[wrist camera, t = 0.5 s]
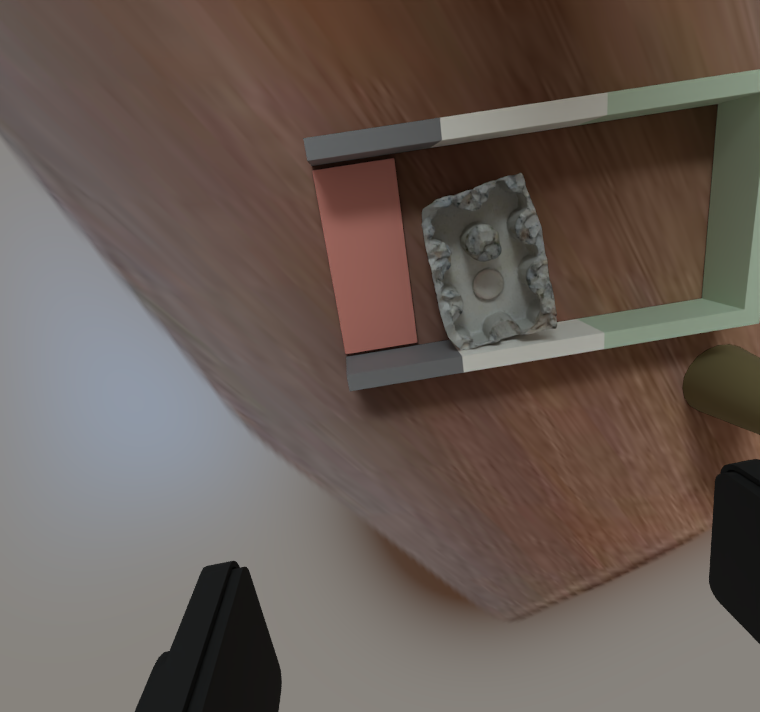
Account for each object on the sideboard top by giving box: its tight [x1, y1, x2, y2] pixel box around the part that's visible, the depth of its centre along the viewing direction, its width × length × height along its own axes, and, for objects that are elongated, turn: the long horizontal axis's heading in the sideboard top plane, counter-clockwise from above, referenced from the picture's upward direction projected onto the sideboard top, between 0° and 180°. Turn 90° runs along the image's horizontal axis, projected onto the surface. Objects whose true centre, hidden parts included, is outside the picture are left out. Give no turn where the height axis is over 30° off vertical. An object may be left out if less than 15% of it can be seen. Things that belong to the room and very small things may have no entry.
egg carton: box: [422, 173, 557, 350], centre depth 31 cm, size 11×8×4 cm
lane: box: [303, 69, 760, 391], centre depth 31 cm, size 16×29×4 cm, turn 98°
